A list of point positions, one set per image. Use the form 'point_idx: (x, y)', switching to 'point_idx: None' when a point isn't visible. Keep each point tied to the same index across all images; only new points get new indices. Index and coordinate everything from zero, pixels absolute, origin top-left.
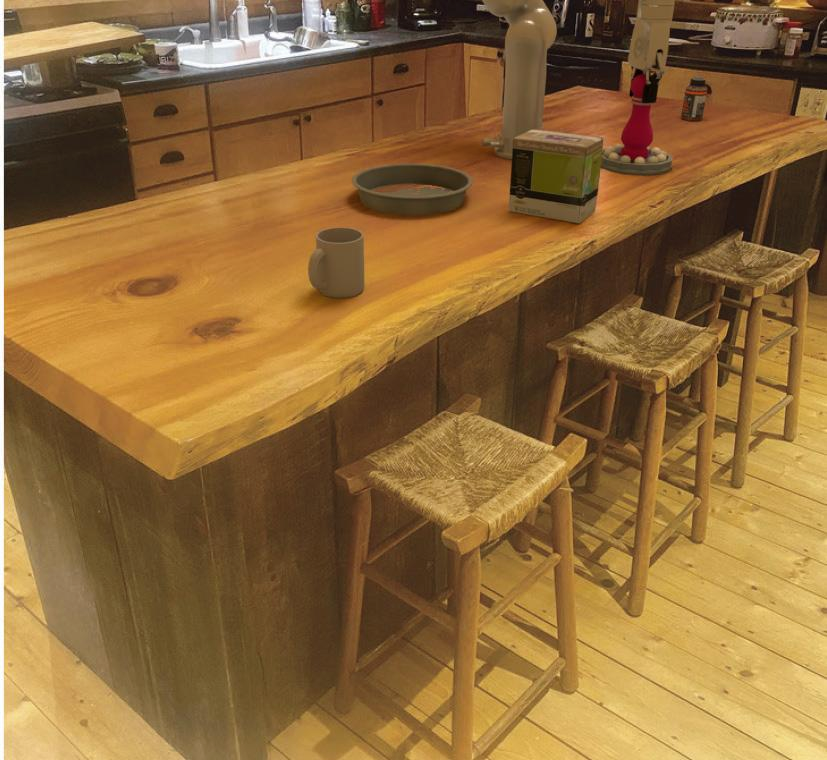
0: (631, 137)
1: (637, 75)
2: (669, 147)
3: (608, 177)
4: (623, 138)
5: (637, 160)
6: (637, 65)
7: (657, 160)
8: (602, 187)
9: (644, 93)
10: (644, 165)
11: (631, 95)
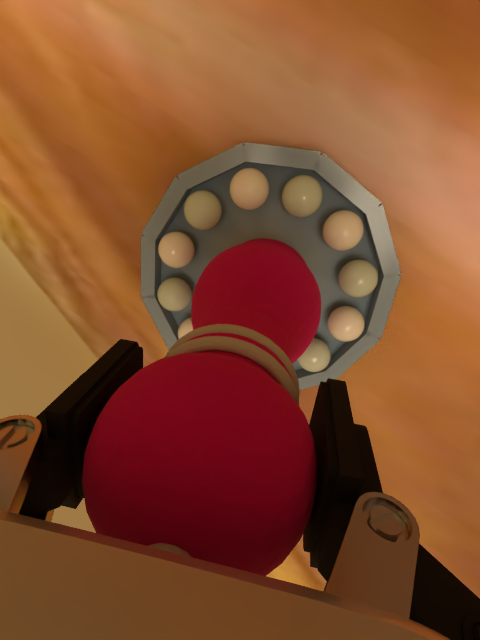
0: (215, 259)
1: (335, 543)
2: (401, 479)
3: (156, 109)
4: (255, 243)
5: (164, 236)
6: (39, 568)
7: (160, 303)
8: (47, 14)
9: (88, 370)
10: (141, 244)
11: (320, 385)
